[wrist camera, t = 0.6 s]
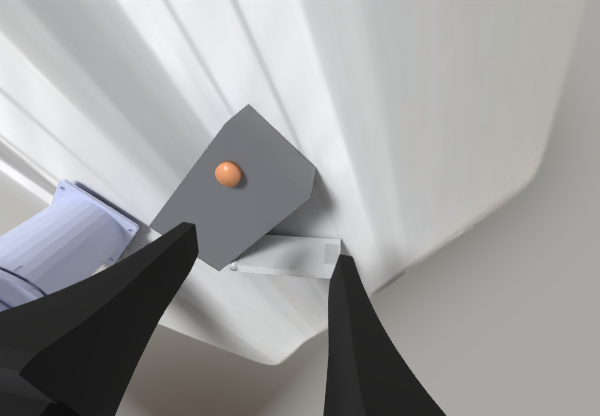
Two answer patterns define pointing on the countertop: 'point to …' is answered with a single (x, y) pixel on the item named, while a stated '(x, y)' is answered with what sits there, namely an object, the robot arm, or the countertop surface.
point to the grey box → (239, 189)
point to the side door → (290, 256)
